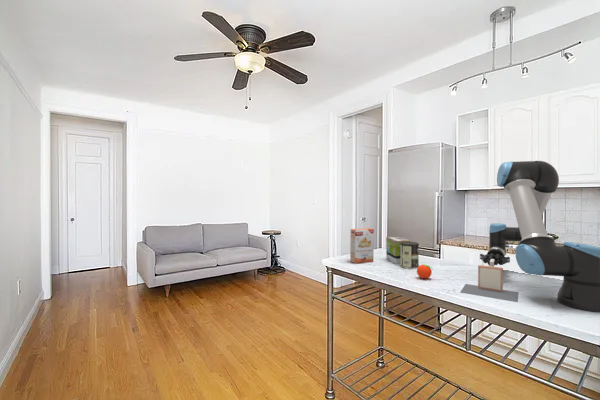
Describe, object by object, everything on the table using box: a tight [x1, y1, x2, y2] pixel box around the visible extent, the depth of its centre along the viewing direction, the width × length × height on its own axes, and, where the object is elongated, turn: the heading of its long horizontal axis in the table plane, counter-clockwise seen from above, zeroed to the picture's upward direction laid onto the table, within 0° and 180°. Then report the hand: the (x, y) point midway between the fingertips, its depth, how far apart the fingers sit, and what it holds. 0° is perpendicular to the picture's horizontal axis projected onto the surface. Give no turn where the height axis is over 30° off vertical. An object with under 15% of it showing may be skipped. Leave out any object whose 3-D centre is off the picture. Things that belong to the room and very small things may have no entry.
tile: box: [477, 264, 504, 292], centre depth 131 cm, size 9×2×10 cm, turn 53°
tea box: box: [385, 236, 412, 265], centre depth 189 cm, size 15×10×15 cm, turn 6°
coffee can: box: [399, 241, 420, 270], centre depth 175 cm, size 10×10×14 cm
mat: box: [459, 283, 519, 303], centre depth 128 cm, size 20×15×1 cm
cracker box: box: [349, 227, 375, 264], centre depth 189 cm, size 14×6×21 cm, turn 113°
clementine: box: [416, 264, 432, 280], centre depth 151 cm, size 8×7×7 cm
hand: (491, 264), depth 137 cm, fingers closed
